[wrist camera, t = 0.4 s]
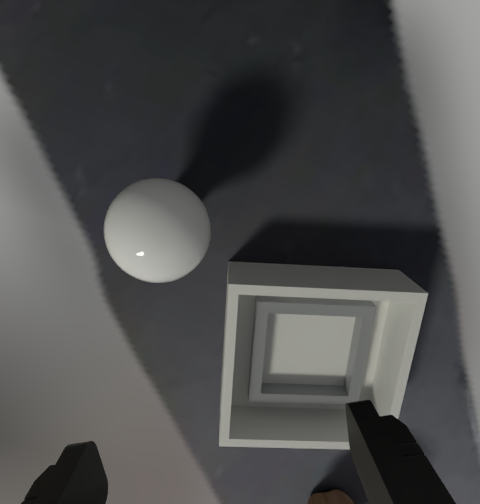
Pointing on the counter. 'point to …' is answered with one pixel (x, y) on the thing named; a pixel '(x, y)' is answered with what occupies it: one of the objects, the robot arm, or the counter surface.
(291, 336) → the walled box
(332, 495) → the cupcake
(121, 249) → the lightbulb
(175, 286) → the counter surface
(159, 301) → the counter surface
